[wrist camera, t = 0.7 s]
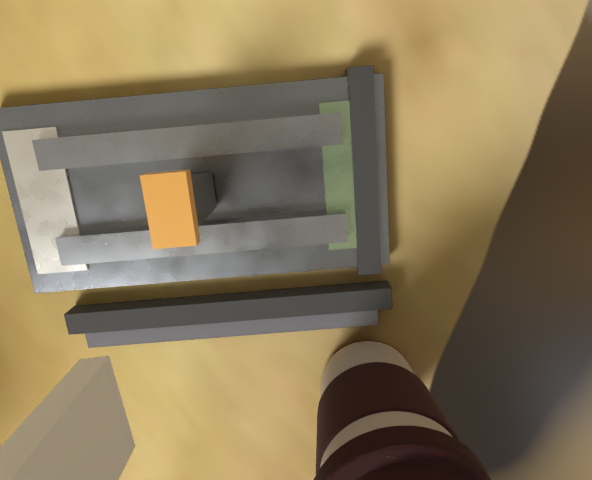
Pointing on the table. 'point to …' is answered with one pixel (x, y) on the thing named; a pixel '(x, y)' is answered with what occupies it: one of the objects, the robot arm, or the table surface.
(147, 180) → the lever
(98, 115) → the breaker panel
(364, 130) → the grey panel edge rail
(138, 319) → the long dark grey rail
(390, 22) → the table surface
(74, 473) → the robot arm
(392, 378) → the coffee cup
